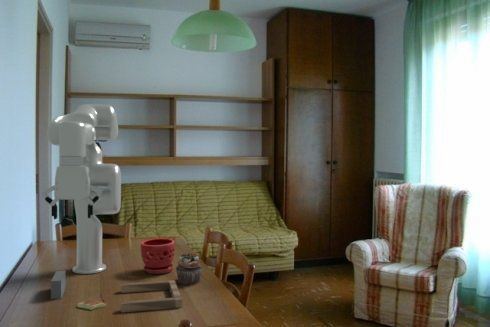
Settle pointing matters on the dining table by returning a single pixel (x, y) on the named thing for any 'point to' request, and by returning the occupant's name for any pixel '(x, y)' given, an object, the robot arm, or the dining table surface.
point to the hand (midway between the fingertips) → (72, 218)
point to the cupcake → (188, 269)
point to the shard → (93, 302)
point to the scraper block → (58, 284)
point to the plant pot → (158, 255)
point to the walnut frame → (153, 303)
